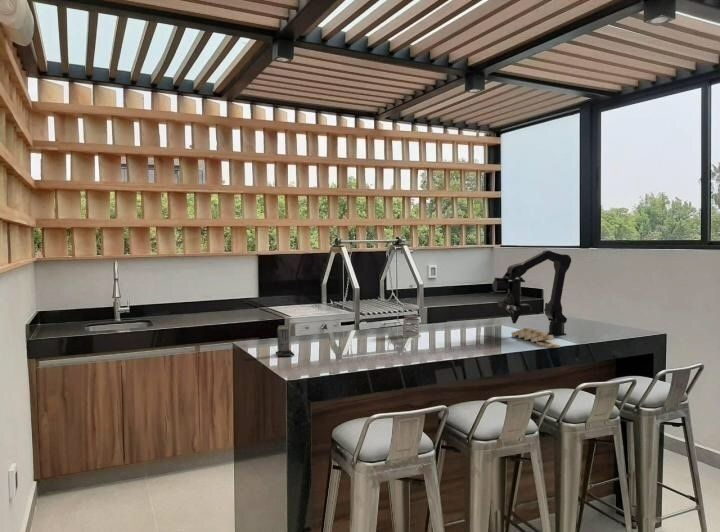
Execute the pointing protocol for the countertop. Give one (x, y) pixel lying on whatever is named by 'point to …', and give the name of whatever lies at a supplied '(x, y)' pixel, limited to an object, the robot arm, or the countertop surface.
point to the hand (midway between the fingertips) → (514, 323)
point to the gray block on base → (283, 341)
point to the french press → (412, 320)
